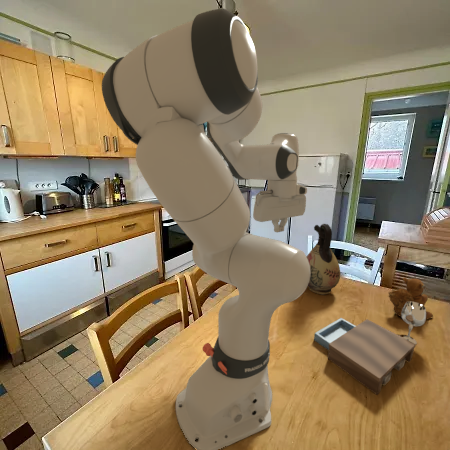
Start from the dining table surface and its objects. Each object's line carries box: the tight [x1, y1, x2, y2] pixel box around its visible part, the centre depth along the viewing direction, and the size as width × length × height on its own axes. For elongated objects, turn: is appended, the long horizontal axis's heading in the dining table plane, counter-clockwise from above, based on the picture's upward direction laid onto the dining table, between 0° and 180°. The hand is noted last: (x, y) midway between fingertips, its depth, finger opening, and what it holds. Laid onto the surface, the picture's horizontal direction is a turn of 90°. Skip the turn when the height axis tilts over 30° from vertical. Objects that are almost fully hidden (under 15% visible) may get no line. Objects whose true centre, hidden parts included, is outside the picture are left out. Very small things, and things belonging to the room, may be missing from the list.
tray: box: [313, 317, 357, 351], centre depth 70 cm, size 14×18×2 cm
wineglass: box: [399, 301, 427, 345], centre depth 73 cm, size 6×6×12 cm
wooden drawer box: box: [327, 318, 417, 396], centre depth 66 cm, size 20×13×5 cm, turn 123°
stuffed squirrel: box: [388, 277, 434, 320], centre depth 86 cm, size 10×14×13 cm
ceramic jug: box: [306, 223, 341, 296], centre depth 100 cm, size 17×15×30 cm
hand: (278, 231), depth 79 cm, fingers closed
